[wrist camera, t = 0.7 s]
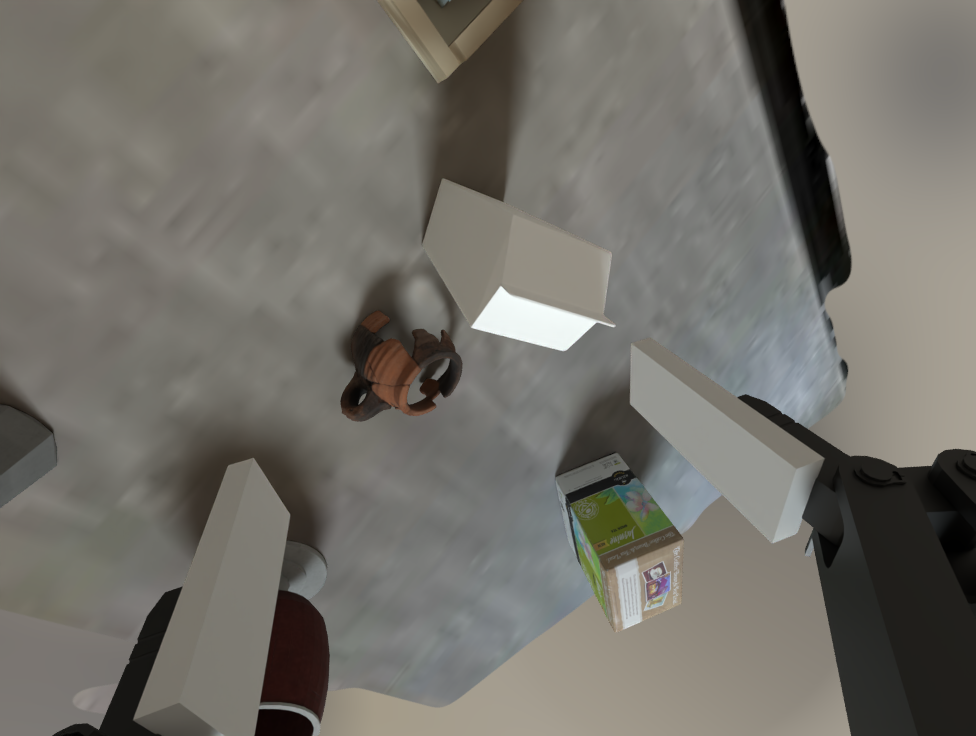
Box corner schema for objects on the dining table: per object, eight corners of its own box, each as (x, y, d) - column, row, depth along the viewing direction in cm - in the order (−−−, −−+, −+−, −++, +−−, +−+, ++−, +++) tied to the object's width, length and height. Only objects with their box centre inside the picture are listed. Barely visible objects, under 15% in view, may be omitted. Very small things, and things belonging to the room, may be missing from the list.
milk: (441, 177, 35) (537, 221, 17) (504, 202, 37) (651, 265, 19) (420, 247, 37) (485, 355, 19) (481, 266, 40) (592, 379, 21)
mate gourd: (345, 590, 56) (342, 784, 40) (235, 623, 54) (181, 846, 37) (312, 513, 48) (290, 714, 32) (181, 547, 46) (81, 786, 29)
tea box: (550, 476, 57) (605, 572, 44) (617, 449, 58) (688, 536, 45) (566, 541, 65) (616, 637, 52) (624, 516, 66) (686, 605, 53)
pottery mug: (393, 280, 39) (448, 325, 35) (434, 331, 47) (482, 372, 43) (297, 373, 37) (343, 431, 33) (356, 409, 45) (398, 459, 41)
